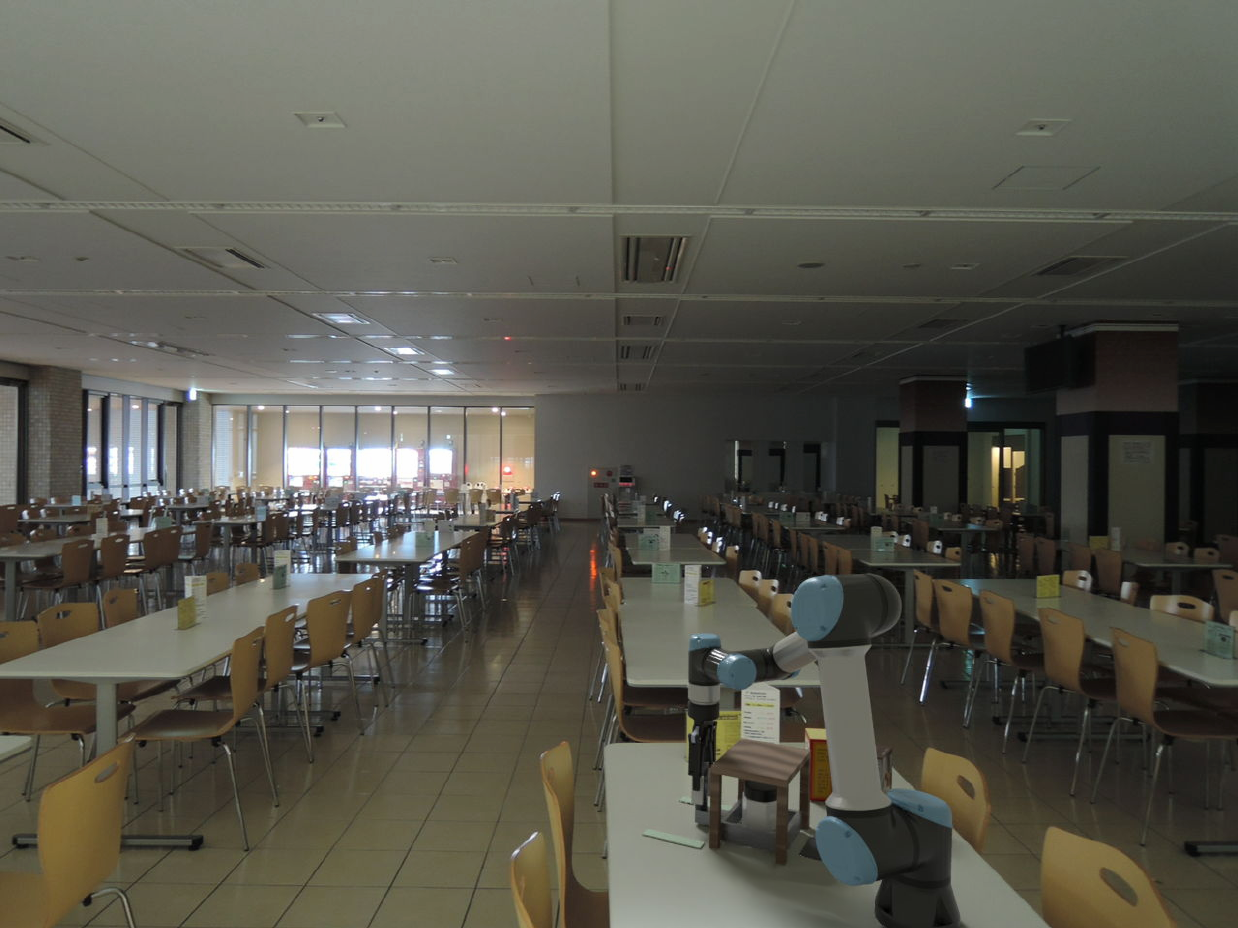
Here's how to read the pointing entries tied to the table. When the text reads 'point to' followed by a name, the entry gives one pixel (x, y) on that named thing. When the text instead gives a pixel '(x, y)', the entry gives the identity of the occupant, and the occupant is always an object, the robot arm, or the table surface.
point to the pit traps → (810, 849)
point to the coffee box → (885, 767)
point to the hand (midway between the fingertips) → (701, 798)
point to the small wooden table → (762, 767)
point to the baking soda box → (818, 764)
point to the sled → (740, 832)
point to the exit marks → (677, 838)
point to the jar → (759, 805)
